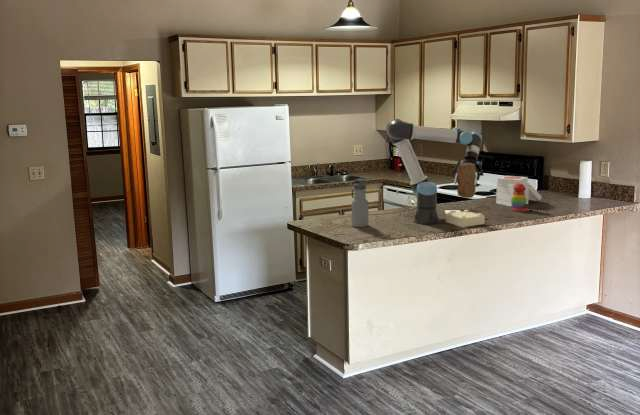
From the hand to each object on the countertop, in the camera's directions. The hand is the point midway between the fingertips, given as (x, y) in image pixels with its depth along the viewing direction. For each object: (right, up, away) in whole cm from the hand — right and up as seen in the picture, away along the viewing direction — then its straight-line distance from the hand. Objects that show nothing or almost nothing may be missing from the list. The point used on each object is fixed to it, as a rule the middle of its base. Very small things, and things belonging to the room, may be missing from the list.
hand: (465, 183), depth 361 cm
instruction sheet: (+1, -17, +36) cm, 40 cm away
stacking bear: (+44, -16, +40) cm, 62 cm away
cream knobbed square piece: (+1, -23, +6) cm, 24 cm away
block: (+1, -8, +4) cm, 9 cm away
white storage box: (+52, -11, +65) cm, 83 cm away
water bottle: (-61, -25, +5) cm, 66 cm away
